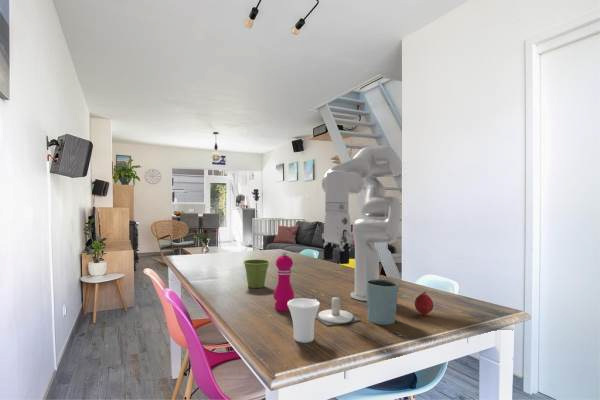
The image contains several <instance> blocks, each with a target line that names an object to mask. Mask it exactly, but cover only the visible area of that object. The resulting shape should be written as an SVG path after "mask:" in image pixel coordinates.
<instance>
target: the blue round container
mask: <svg viewBox="0 0 600 400" xmlns="http://www.w3.org/2000/svg"><path fill="white" fill-rule="evenodd" d="M399 286H400V284H399V283H398V282H396V281H394V280H390V279H382V278H381V279H380V278H379V279H372V280H368V281H366V288H367V301H366V307H367V308H366V309H367V312H366V313H367V320H368V321H369V322H370V323H372V324H376V325H382V326H383V325H384V326H386V325H393V324H394V323H395V322H396V314H397V303H398V295H399Z"/></svg>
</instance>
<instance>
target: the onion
mask: <svg viewBox="0 0 600 400" xmlns="http://www.w3.org/2000/svg"><path fill="white" fill-rule="evenodd" d="M414 308H415V309H416V311H417V312H418V313H419V314H420V315H422V316H424V317H425V316H427V315H428V314H430V313H431V312H432V311H433V309H434V302H433V300H432V298H431V297H430V296H429V294H427V291H423V292H422V293H421V294H419V295H418V296H417V297H416V298H415V300H414Z"/></svg>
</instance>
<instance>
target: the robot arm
mask: <svg viewBox="0 0 600 400" xmlns="http://www.w3.org/2000/svg"><path fill="white" fill-rule="evenodd" d="M402 168H403V165H402V161H401V158H400V157H399V155H398V154H397V152H396V151H395V149H394V148H393V147H392V146H390V145H387V144H385V145H372V146H365V147H363V148H361V149H360V150H359V151H358V152H357V153H356V154H355V156H353V158H352V159H351V158H350V159H349V160H346V161H344V162H342V163H338V164H335V166H332V167H331V168H330V169H329V170H327V171H326V173H325V174H324V175H323V178H322V181H321V188H322V190H323V192H325V194H324V195H325V196H324V197H325V198H324V199H325V200H324V201H325V202H324V204H325V205H324V213H325V215H324V221H323V222H324V223H323V232H322V233H321V238H322V246H323V260H325V261H326V260H327V261H328V260H329V261H330V260H333V259H334V255H333V254H334V247H333V245H338V246H339V248H340V251H339V264H340V265H349V264H350V251H351V248H352V246H353V241H354V291H352V292H350V297H351V298H352V299H355V300H356V301H362V302H367V288H366V281H368V280H372V279H380V276H379V275H380V255H379V254H380V253H379V251H378V249H377V247H376V245H375V244H377V243H378V244H393V243H395V242H396V240H397V239H398V238H397V237H398V233H399V227H400V221H401V215H402V214H401V213H402V203H401V201H400V199H399V198H398V197H396V196H386V192H387V191H386V187H385V186H384V184H383V183H382V181H380V180H379V179H378V178H384V177H385V178H388V177H390V178H391V177H393V178H394V177H397V176H399V175H400V174H402ZM364 186H365V191H364V196H363V200H362V205H361V215H362V216H363V218H358V219H356V220H355V221H354V222H353V224H351V216H350V212H349V195H356V194H359V193H361V192H362V191H363V189H364ZM351 226H352V227H351Z"/></svg>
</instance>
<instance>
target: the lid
mask: <svg viewBox="0 0 600 400" xmlns="http://www.w3.org/2000/svg"><path fill="white" fill-rule="evenodd" d="M318 314H319V318H320V319H321V320H323V321H326V322H331V323H345V324H347V323H346V322H350V321H351V320H353V316H354V314H353V313H351V312H350V311H347V310H343V309H341V298H340V297H334V296H333V297H331V309H324V310H322V311H320V312H318Z"/></svg>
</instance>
